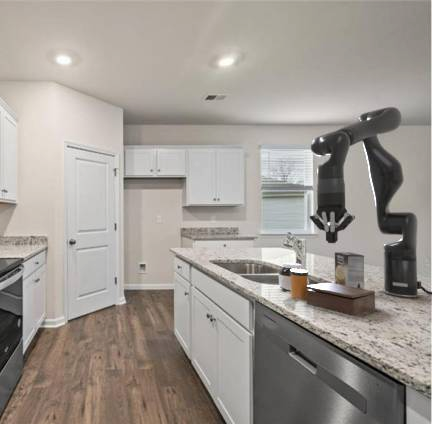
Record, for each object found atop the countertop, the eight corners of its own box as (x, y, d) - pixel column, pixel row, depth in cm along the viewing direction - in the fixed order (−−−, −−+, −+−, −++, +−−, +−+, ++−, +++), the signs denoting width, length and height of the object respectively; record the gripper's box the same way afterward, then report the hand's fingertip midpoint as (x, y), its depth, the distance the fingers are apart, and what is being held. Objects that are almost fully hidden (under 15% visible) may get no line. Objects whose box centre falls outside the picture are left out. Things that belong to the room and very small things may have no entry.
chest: (353, 318, 87) (353, 300, 87) (307, 306, 99) (306, 289, 99) (375, 310, 93) (374, 293, 93) (328, 300, 106) (328, 284, 106)
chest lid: (352, 298, 86) (352, 295, 87) (305, 288, 99) (305, 285, 99) (374, 293, 93) (374, 291, 94) (328, 284, 106) (328, 282, 106)
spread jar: (280, 292, 116) (280, 264, 117) (276, 286, 127) (275, 260, 127) (315, 295, 112) (314, 266, 112) (307, 288, 122) (306, 262, 123)
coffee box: (334, 288, 122) (333, 251, 122) (351, 289, 121) (350, 252, 121) (347, 294, 113) (346, 254, 113) (365, 295, 112) (364, 255, 112)
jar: (295, 296, 111) (295, 268, 111) (311, 299, 106) (311, 271, 106) (287, 298, 109) (286, 270, 109) (302, 302, 103) (302, 272, 104)
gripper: (360, 191, 90) (361, 244, 90) (315, 194, 102) (316, 241, 102) (348, 190, 87) (349, 245, 87) (303, 193, 99) (304, 242, 99)
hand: (331, 243), depth 94 cm, fingers closed
